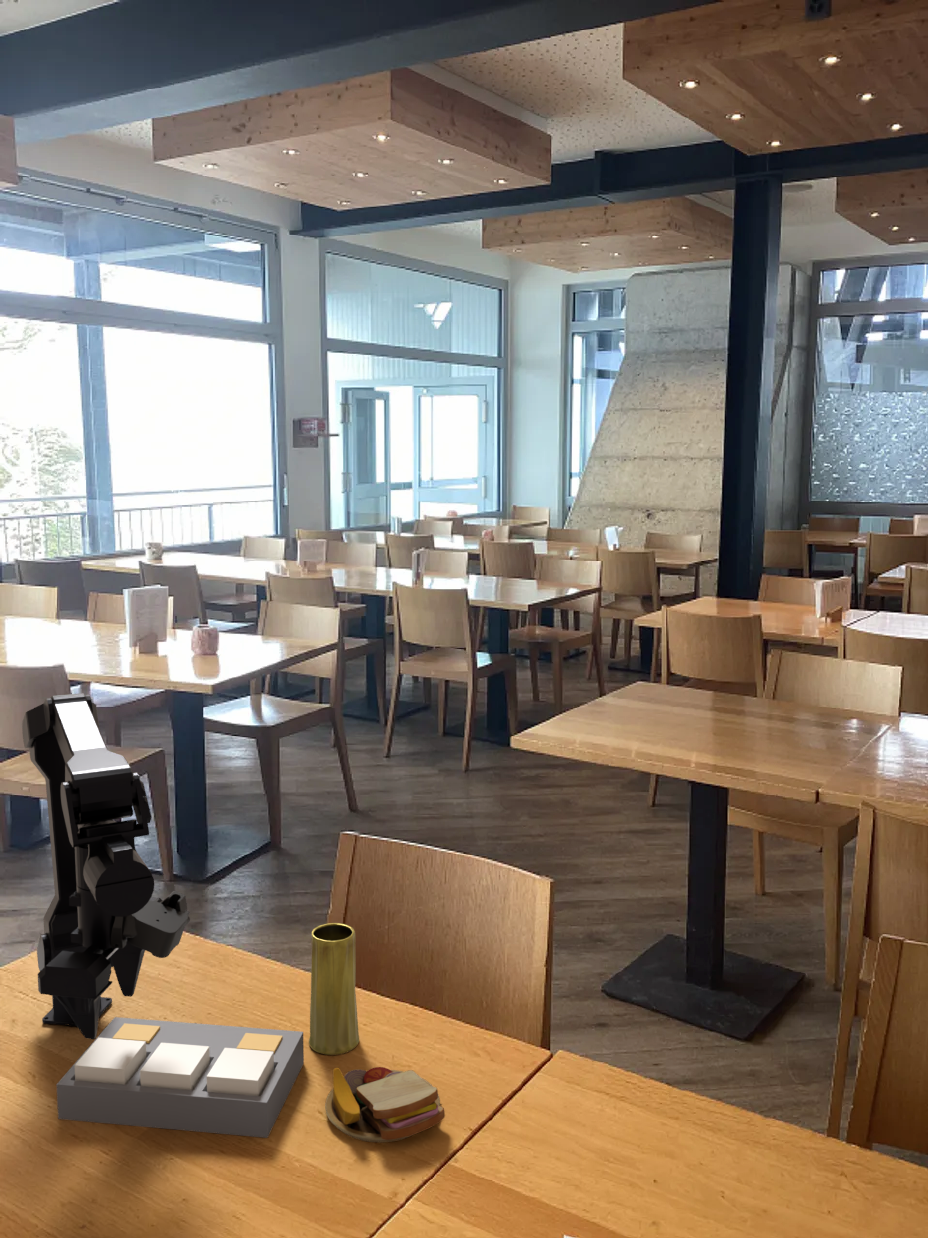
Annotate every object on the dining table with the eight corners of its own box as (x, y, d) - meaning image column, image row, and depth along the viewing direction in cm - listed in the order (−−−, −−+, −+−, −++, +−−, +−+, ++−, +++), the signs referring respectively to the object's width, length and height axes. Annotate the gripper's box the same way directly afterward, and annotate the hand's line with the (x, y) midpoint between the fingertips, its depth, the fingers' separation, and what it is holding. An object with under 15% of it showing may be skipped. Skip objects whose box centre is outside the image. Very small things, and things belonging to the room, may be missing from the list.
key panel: (58, 1119, 114) (56, 1082, 113) (116, 1048, 128) (114, 1014, 127) (267, 1138, 111) (266, 1100, 111) (303, 1063, 125) (303, 1029, 124)
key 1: (99, 1058, 120) (98, 1037, 120) (146, 1062, 120) (145, 1041, 119) (75, 1086, 115) (74, 1065, 114) (124, 1091, 114) (124, 1069, 114)
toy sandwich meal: (418, 1070, 124) (418, 1033, 124) (459, 1139, 112) (460, 1098, 111) (313, 1092, 120) (313, 1053, 119) (344, 1166, 107) (343, 1123, 107)
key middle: (161, 1063, 119) (161, 1042, 119) (209, 1067, 119) (209, 1046, 118) (140, 1092, 114) (140, 1071, 114) (191, 1096, 113) (190, 1075, 113)
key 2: (225, 1068, 119) (224, 1047, 118) (273, 1072, 118) (273, 1051, 118) (207, 1098, 113) (206, 1076, 113) (258, 1102, 112) (257, 1080, 112)
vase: (350, 1059, 126) (349, 945, 124) (301, 1052, 127) (299, 940, 125) (365, 1032, 132) (364, 923, 130) (318, 1026, 133) (317, 918, 131)
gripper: (138, 923, 103) (143, 1071, 106) (209, 853, 122) (212, 980, 124) (31, 915, 105) (39, 1061, 107) (116, 847, 123) (121, 973, 126)
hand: (110, 1016), depth 116 cm, fingers open, 9 cm apart
